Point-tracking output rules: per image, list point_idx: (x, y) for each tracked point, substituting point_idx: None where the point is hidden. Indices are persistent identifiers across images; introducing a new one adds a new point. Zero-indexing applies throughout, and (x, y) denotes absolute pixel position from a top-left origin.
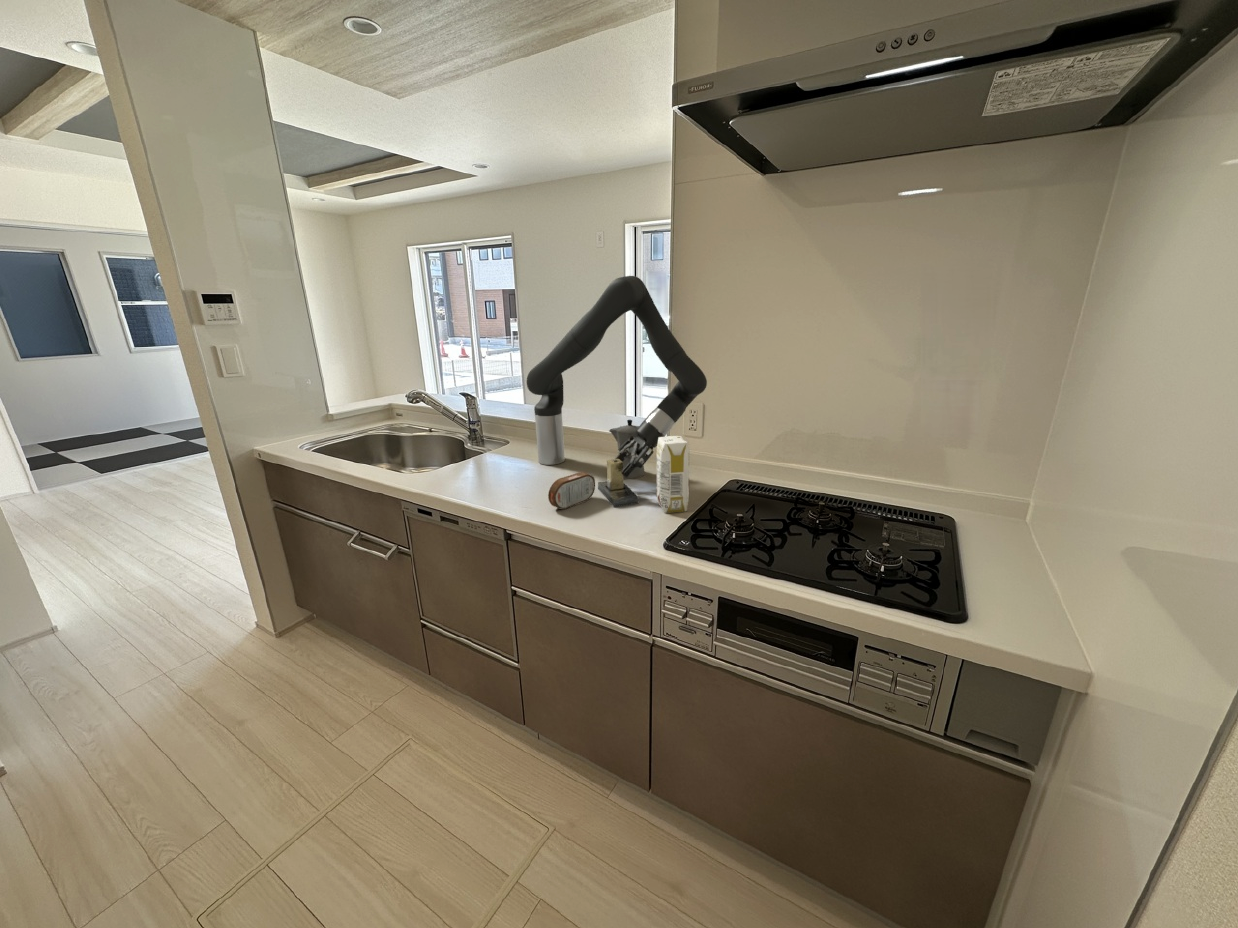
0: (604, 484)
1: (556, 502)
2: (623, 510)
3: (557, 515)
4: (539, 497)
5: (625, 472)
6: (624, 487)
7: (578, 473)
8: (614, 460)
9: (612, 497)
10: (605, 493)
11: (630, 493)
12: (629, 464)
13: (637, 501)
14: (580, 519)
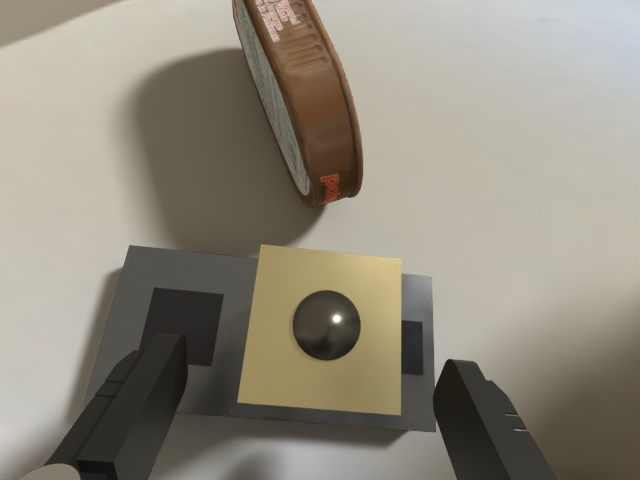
0: None
1: (233, 10)
2: (81, 281)
3: (213, 43)
4: (413, 48)
5: (125, 363)
6: None
7: (321, 42)
8: (346, 328)
9: (173, 255)
10: None
11: None
12: (92, 446)
13: None
14: (123, 91)
